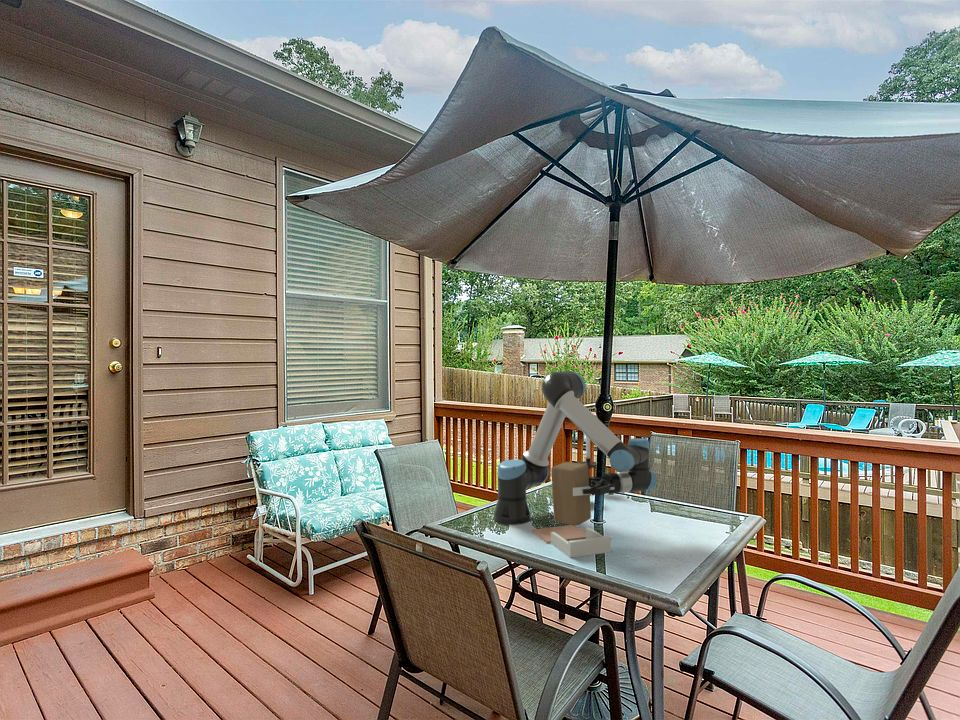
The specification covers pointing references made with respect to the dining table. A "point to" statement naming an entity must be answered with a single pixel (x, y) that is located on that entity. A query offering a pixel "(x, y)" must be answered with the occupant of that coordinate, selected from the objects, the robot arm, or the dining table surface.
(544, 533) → the terracotta mat
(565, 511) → the wooden block
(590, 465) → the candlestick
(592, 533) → the lane rack
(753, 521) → the dining table surface
